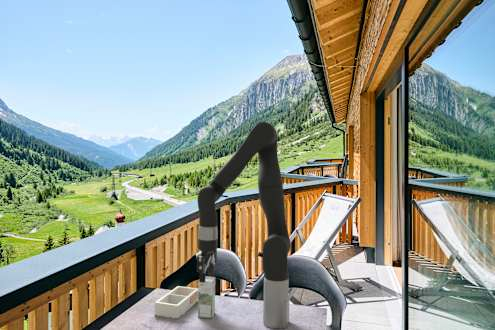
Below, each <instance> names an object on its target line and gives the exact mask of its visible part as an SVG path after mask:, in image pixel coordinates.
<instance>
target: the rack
mask: <svg viewBox="0 0 495 330" xmlns="http://www.w3.org/2000/svg"><path fill="white" fill-rule="evenodd" d="M196 303H198V287H188V286H180V285H177V286H176V287H174V288H173V289H172V290H170V291H169V292H167V293H166V294H164V295H163V296H161V298H159V299H158V300H156V301H155V302H154V316H156V315H157V316H158V317H162V316H163V318H169V317H171V318H170V319H175V318H178V319H180V318H181V317H182V316H183V315H184V314H185V313H186V312H187V311H189V309H191V308H192V307H193V306H194V305H195V304H196ZM182 314H183V315H182ZM181 315H182V316H181ZM180 316H181V317H180ZM179 317H180V318H179Z"/></svg>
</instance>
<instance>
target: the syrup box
mask: <svg viewBox="0 0 495 330" xmlns="http://www.w3.org/2000/svg"><path fill="white" fill-rule="evenodd" d="M197 283H198V287H197V289H198V301H197V318H199V319H200V318H202V319H213V317H214V315H215V312H216V276H205V282H204V283H202V282H199V281H198V282H197Z"/></svg>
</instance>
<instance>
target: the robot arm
mask: <svg viewBox="0 0 495 330" xmlns="http://www.w3.org/2000/svg"><path fill="white" fill-rule="evenodd" d="M256 155H258V172H257V173H258V174H257V188H258V189H257V190H258V196H259V201H260V204H261V205H260V206H261V208H262V210H263V214H264V216H265V219H266V226H267V238H266V239H265V240H264V242H263V246H262V271H263V305H262V306H263V310H262V312H263V313H262V319H263V320H262V322H263V325H264V326H265V327H267V328H270V329H286V328H288V325H289V322H290V296H289V285H290V283H289V281H290V279H289V278H290V277H289V276H290V271H289V270H288V254H289V253H290V250H291V247H292V246H291V243H292V242H291V239H290V236H289V235H290V234H289V230H288V225H287V221H286V207H285V193H284V185H283V184H284V183H283V179H282V174H281V173H282V172H281V168H280V165H279V164H280V163H279V158H278V156H279V155H278V132H277V129H276V128H275V126H273V125H272V124H271V123H269V122H266V121H260V122H257V123H255V124H254V125H253V127H252V128H251V130H250V131H249V133H248V134H247V136H246V137H245V139H244V140H243V142H242V143H241V145H240V146H239V147H238V149H237V150H236V151H235V152H234V154H232V155H231V157H230V158H228V160H227V161H226V162H225V163H224V164H223V166H221V167H220V168H219V170H218V171H217V172H216V173H215V175H214V178H213V179H212V181H210V183H208V184H207V186H203V187H201V188H200V189H199V190H198V193H197V208H198V212H199V213H198V214H199V220H198V221H199V222H198V223H199V224H198V232H197V235H198V236H197V249H198V250H199V251H200V253H201V254H200V255H197V258H196V273H199V276H198V277H199V278H198V282H202V283H204V282H205V277H206V274H207V275H208V276H209V277H214V274H215V266H216V264H217V262H218V256H217V255H218V239H219V238H218V234H219V233H218V232H219V231H218V212H217V211H216V202H218V201H219V200H220V199H221V197H222V196H223V195H224V193H225V192H226V191H227V189H228V188H229V187H230V186H232V184H233V183H234V182H235V181H236V180H237V179H238V178H239V177H240V175H241V173H242V172H243V171H244V170H245V168H246V166H247V165H248V164H249V162H250V161H251V160H252V159H253V157H255V156H256ZM206 271H208V272H207V273H206Z"/></svg>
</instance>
